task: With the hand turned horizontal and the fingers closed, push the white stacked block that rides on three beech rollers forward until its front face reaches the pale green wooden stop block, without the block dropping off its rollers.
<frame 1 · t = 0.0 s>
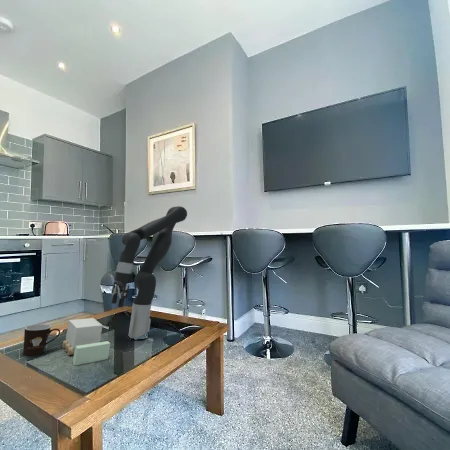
hand: (116, 305, 120), 17 cm above the table, tool pointing down, fingers open, 8 cm apart
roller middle: (81, 348, 107), on the table, touching white stacked block
roller front: (84, 352, 103), on the table, touching white stacked block
white stacked block: (82, 341, 107), point 3 cm above the table, touching roller front, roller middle, roller rear
coffee mug: (37, 353, 99), on the table
roller rear: (78, 345, 110), on the table, touching white stacked block
stop block: (90, 360, 97), on the table
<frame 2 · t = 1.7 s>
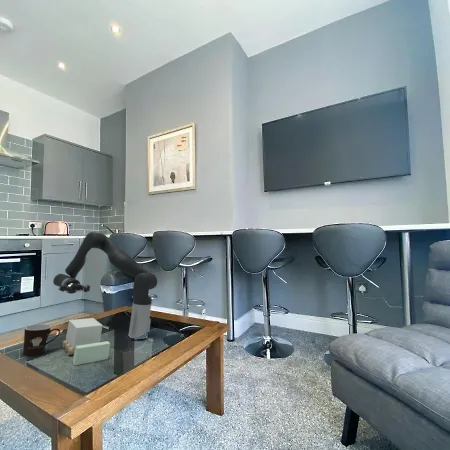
hand: (79, 290, 123), 22 cm above the table, tool horizontal, fingers open, 6 cm apart
nothing on the table moved.
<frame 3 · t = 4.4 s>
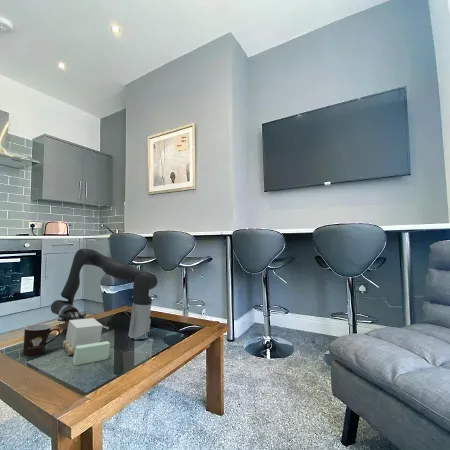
hand: (77, 321, 117), 8 cm above the table, tool horizontal, fingers closed
nothing on the table moved.
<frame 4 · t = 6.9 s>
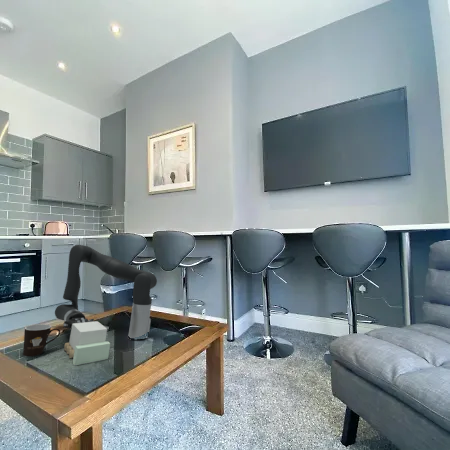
hand: (84, 328, 108), 9 cm above the table, tool horizontal, fingers closed
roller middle: (83, 345, 106), point 2 cm above the table, tilted 115°, touching white stacked block
roller front: (86, 348, 103), point 2 cm above the table, tilted 115°, touching white stacked block
white stacked block: (86, 346, 103), point 3 cm above the table, touching gripper, roller front, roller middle, stop block
roller rear: (80, 341, 109), point 2 cm above the table, tilted 131°
everything else where it was.
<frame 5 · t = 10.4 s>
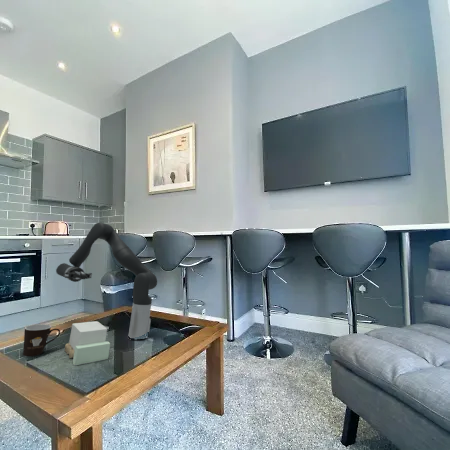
hand: (83, 277, 120), 29 cm above the table, tool horizontal, fingers closed
white stacked block: (86, 346, 103), point 3 cm above the table, touching roller front, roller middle, roller rear
roller rear: (82, 341, 107), point 3 cm above the table, tilted 173°, touching white stacked block
everything else where it was.
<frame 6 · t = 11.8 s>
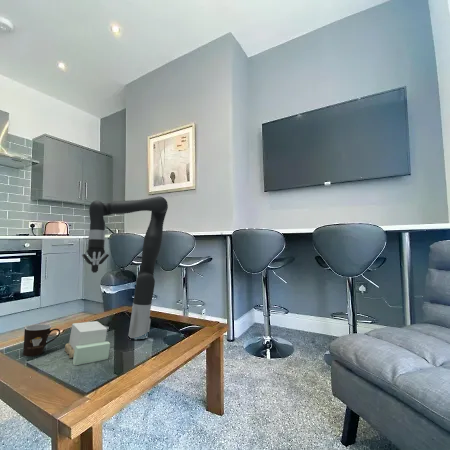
hand: (94, 272, 127), 31 cm above the table, tool pointing down, fingers closed
nothing on the table moved.
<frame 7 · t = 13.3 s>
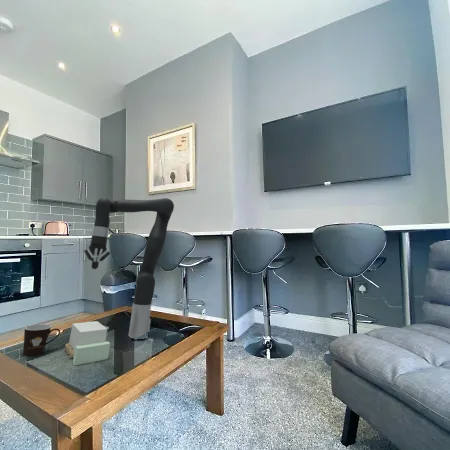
hand: (94, 268, 127), 33 cm above the table, tool pointing down, fingers closed
nothing on the table moved.
at the end: white stacked block inside the target area (0.5 cm from its centre), point 3.0 cm above the table; white stacked block tilted 0°; white stacked block touching roller front, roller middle, roller rear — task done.
